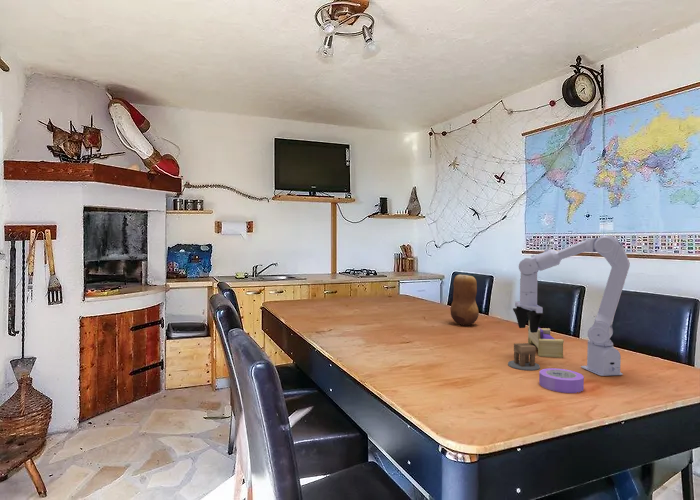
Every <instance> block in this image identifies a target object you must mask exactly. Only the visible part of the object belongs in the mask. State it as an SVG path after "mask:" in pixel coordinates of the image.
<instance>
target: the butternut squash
mask: <svg viewBox="0 0 700 500" xmlns="http://www.w3.org/2000/svg"><path fill="white" fill-rule="evenodd" d="M477 283H478V281H477V279H476V278H475V277H474V276H473V275H468V274H457V275H455V277H454V279H453V294H452V295H453V296H452V297H453V298H452V302H451V304H450V315H451V318H452V320H453V322H455V323H457V324H459V325H460V326H466V327H468V326H469V325H473V324H474V323H476V321H477V320H478V318H479V315H480V313H479V307H478V305H477V301H476V297H477V293H478V289H477V288H478V285H477Z"/></svg>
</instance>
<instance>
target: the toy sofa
mask: <svg viewBox="0 0 700 500" xmlns="http://www.w3.org/2000/svg"><path fill="white" fill-rule="evenodd" d="M527 334H528V335H527V336H528V337H527V343H528V344H530V345H534V346H535V347H536V349H537V350H538V351H537V356H538V357H543V358H562V359H563V357H564V339H562V338H560V339H559V338H558V339H556V338H554V337H553V336H552V335H551V328H546V327H545V328H544V327H543V328H541V327H540V326H539V327H538V331H537V332H535V333H532V332H530V323H529V322H528V328H527Z"/></svg>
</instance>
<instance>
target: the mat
mask: <svg viewBox="0 0 700 500" xmlns="http://www.w3.org/2000/svg"><path fill="white" fill-rule="evenodd" d="M507 365H508V367H510V368H512V369H515V370H521V371H529V372H530V371H537V370H541V366H540V364H538V363H537V362H535V366H530V360H529V363H525V367H521V366H520V359H519V363H517V364H516V363H514V359H513V360H509V361H508V362H507Z"/></svg>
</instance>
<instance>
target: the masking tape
mask: <svg viewBox="0 0 700 500" xmlns="http://www.w3.org/2000/svg"><path fill="white" fill-rule="evenodd" d="M538 372H539V374H538V375H539V376H538V377H539V379H538V380H539V382H538V383H539V385H540V386H541V387H542V388H544V389H546V390H550V391H551V392H552V391H553V392H558V393H564V394H565V393H566V394H578V393H582V392H583V391H584V384H585V383H584V379H585V377H584V375H583V374H582V373H580V372H577V371H574V370H570V369H566V368H565V369H564V368H555V367H553V368H552V367H548V368H543V369H539V371H538ZM581 391H582V392H581ZM577 392H578V393H577Z"/></svg>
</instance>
